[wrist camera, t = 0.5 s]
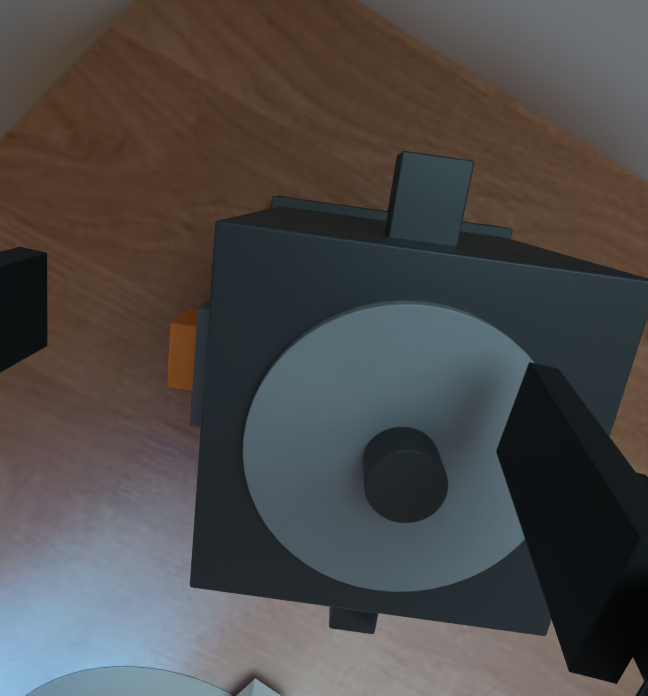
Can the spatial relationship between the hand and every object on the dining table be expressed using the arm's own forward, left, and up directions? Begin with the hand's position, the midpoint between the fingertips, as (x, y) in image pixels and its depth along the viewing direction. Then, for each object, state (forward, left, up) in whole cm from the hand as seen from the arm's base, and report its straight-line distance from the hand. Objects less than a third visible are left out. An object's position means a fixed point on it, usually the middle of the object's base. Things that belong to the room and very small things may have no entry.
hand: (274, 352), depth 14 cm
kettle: (+3, +4, -20) cm, 20 cm away
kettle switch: (+3, -4, -11) cm, 12 cm away
